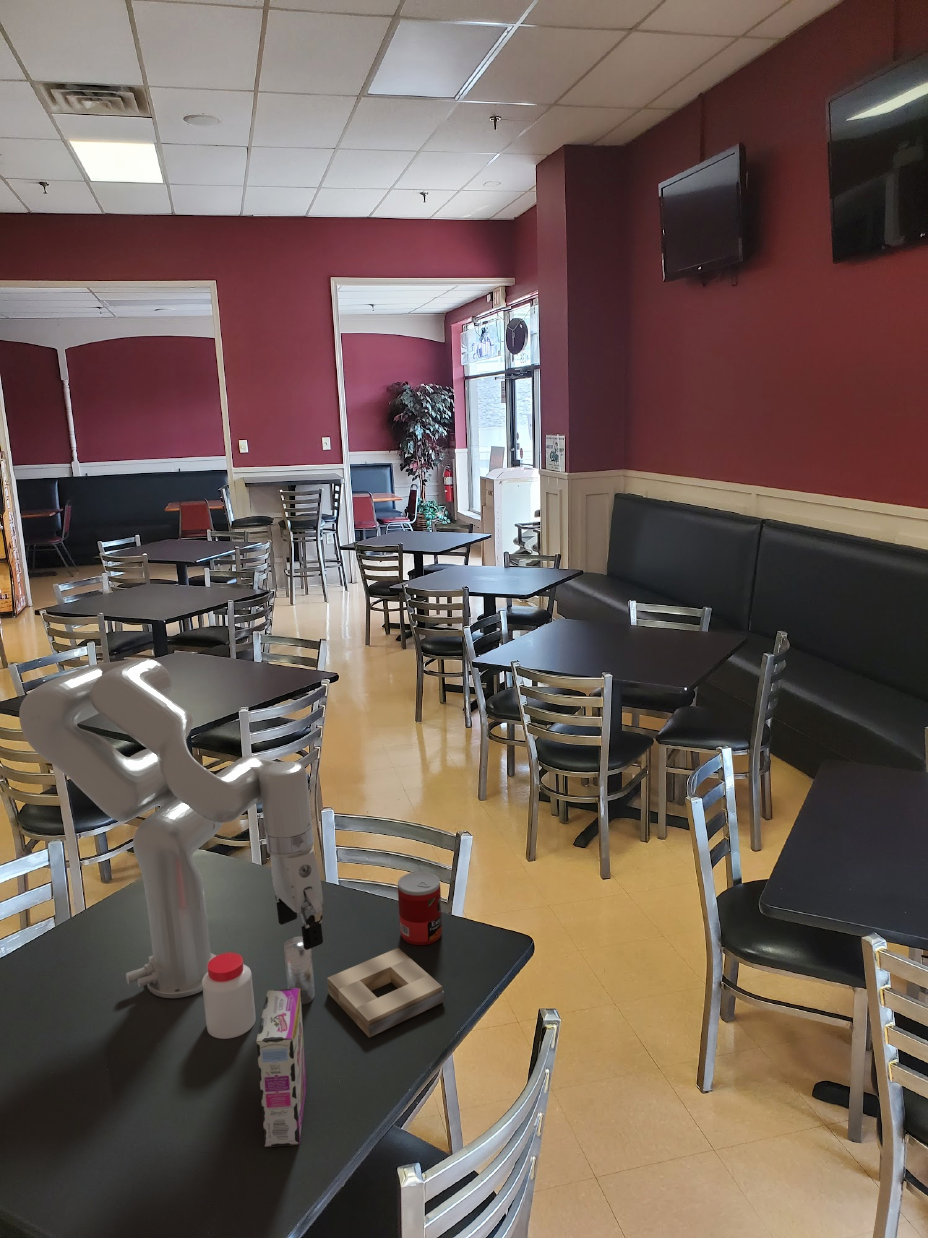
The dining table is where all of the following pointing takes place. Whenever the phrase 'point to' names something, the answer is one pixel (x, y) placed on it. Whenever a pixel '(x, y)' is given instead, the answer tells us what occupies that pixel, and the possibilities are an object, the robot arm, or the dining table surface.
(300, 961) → the frosted glass cylinder
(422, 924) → the canned food
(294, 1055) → the candy bar box
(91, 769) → the robot arm
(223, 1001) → the pill bottle
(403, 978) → the frame
